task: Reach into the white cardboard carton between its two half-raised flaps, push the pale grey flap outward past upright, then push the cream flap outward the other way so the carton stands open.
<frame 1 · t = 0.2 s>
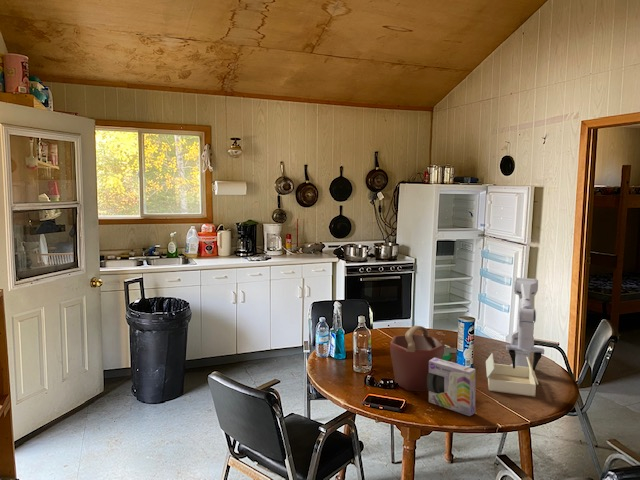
hand: (523, 368, 206), 10 cm above the table, tool pointing down, fingers open, 7 cm apart
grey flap: (490, 365, 216), point 8 cm above the table, hinge at 60.0°
cream flap: (532, 370, 211), point 8 cm above the table, hinge at 60.0°
bucket: (413, 383, 214), on the table
cake pan box: (449, 407, 192), on the table
carton: (509, 384, 214), on the table
food container: (442, 365, 236), on the table
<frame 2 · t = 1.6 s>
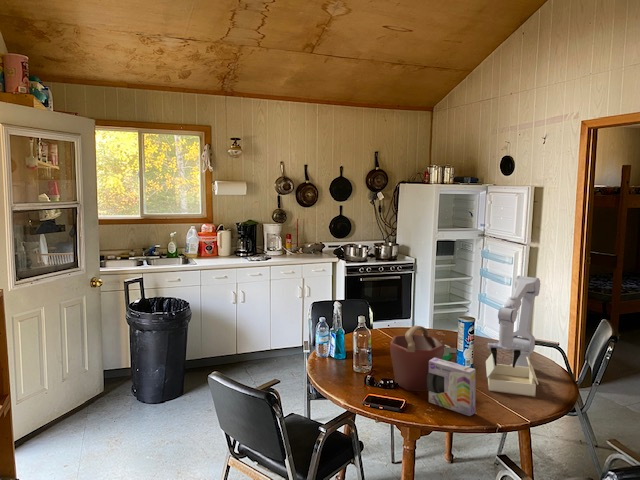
hand: (504, 365, 214), 8 cm above the table, tool pointing down, fingers open, 7 cm apart
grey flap: (490, 365, 216), point 8 cm above the table, hinge at 60.0°, touching gripper
everything else where it was.
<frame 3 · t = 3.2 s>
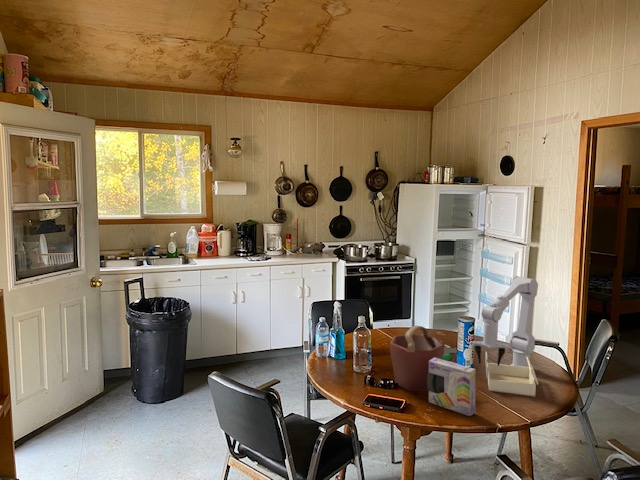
hand: (488, 363, 216), 8 cm above the table, tool pointing down, fingers open, 7 cm apart
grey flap: (486, 364, 216), point 8 cm above the table, hinge at 91.9°
everything else where it was.
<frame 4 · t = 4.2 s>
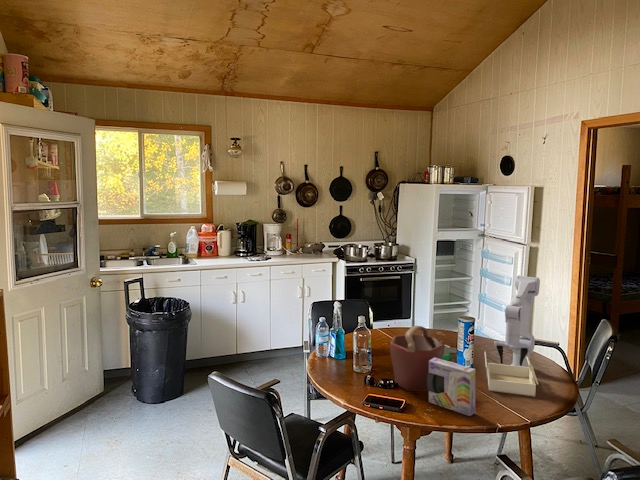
hand: (511, 364, 213), 9 cm above the table, tool pointing down, fingers open, 7 cm apart
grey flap: (486, 364, 216), point 8 cm above the table, hinge at 97.6°
everything else where it was.
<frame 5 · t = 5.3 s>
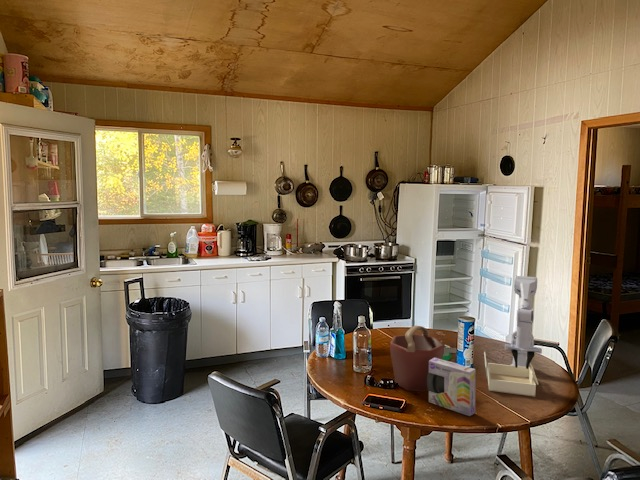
hand: (521, 367, 212), 8 cm above the table, tool pointing down, fingers open, 4 cm apart
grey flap: (485, 364, 216), point 8 cm above the table, hinge at 99.6°
cream flap: (532, 370, 211), point 8 cm above the table, hinge at 60.7°, touching gripper
everything else where it was.
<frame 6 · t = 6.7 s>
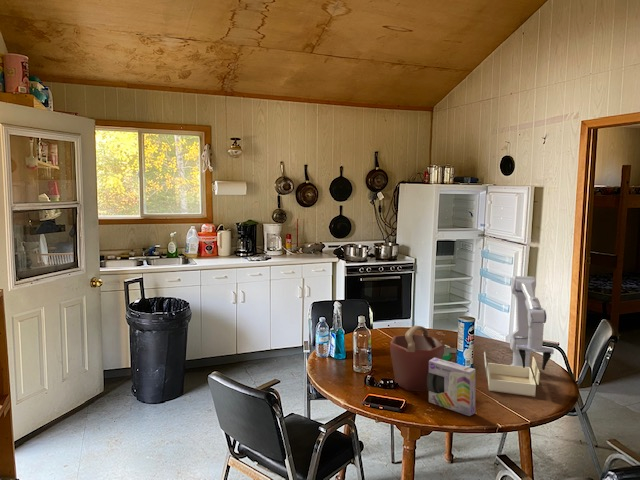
hand: (533, 368, 211), 8 cm above the table, tool pointing down, fingers open, 7 cm apart
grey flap: (485, 364, 216), point 8 cm above the table, hinge at 100.2°
cream flap: (535, 370, 211), point 8 cm above the table, hinge at 91.4°
everything else where it was.
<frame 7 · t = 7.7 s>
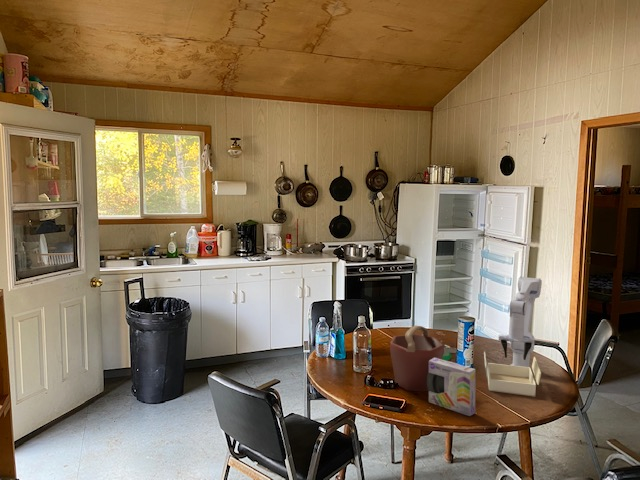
hand: (515, 358, 217), 10 cm above the table, tool pointing down, fingers open, 7 cm apart
cream flap: (536, 370, 210), point 8 cm above the table, hinge at 97.2°
everything else where it was.
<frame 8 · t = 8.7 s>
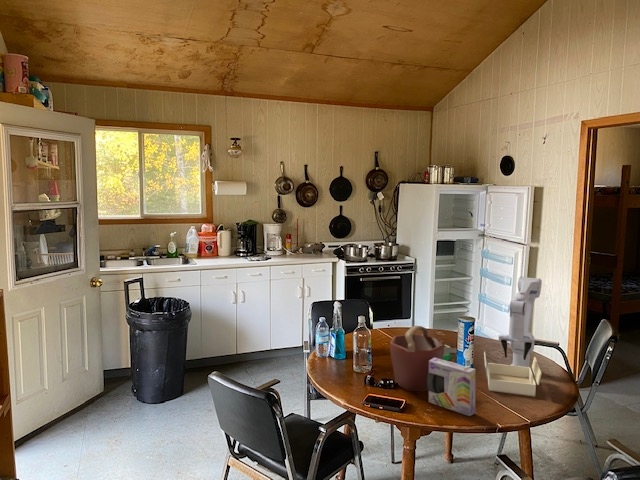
hand: (515, 358, 217), 10 cm above the table, tool pointing down, fingers open, 7 cm apart
cream flap: (536, 370, 210), point 8 cm above the table, hinge at 99.1°
everything else where it was.
at the end: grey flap at +100° (first picture: +60°); cream flap at +99° (first picture: +60°) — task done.
